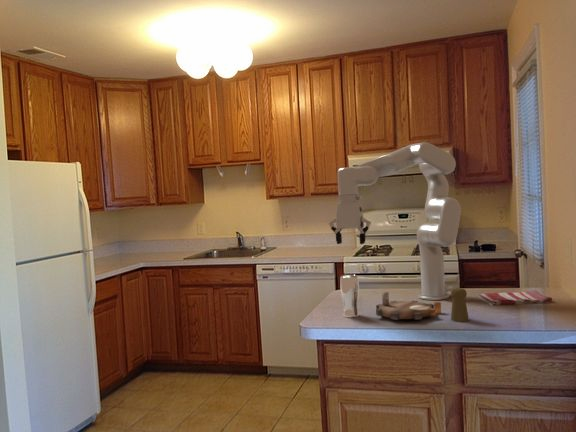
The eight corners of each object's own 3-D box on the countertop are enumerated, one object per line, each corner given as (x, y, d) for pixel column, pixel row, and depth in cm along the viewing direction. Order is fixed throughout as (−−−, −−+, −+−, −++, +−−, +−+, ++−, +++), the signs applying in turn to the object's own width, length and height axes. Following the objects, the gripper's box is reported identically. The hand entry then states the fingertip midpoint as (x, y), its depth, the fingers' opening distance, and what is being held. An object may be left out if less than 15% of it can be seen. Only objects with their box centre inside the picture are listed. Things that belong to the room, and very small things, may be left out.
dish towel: (554, 304, 190) (554, 297, 190) (492, 307, 191) (492, 300, 191) (533, 295, 207) (533, 288, 207) (476, 297, 208) (476, 291, 208)
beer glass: (355, 318, 183) (353, 278, 182) (338, 316, 187) (336, 277, 186) (363, 314, 189) (361, 274, 188) (346, 312, 193) (344, 274, 192)
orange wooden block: (424, 307, 193) (423, 297, 193) (444, 314, 182) (444, 303, 182) (382, 314, 186) (381, 304, 186) (401, 321, 175) (400, 310, 175)
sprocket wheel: (443, 308, 186) (442, 289, 185) (424, 322, 168) (424, 301, 167) (388, 303, 198) (387, 286, 197) (365, 316, 180) (364, 297, 179)
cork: (469, 318, 175) (468, 287, 174) (468, 322, 169) (466, 290, 169) (451, 317, 177) (450, 286, 177) (449, 321, 172) (448, 289, 172)
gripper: (373, 198, 191) (375, 242, 191) (332, 200, 200) (334, 242, 200) (365, 199, 184) (368, 245, 185) (324, 200, 193) (326, 244, 194)
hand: (350, 243), depth 193 cm, fingers open, 9 cm apart
